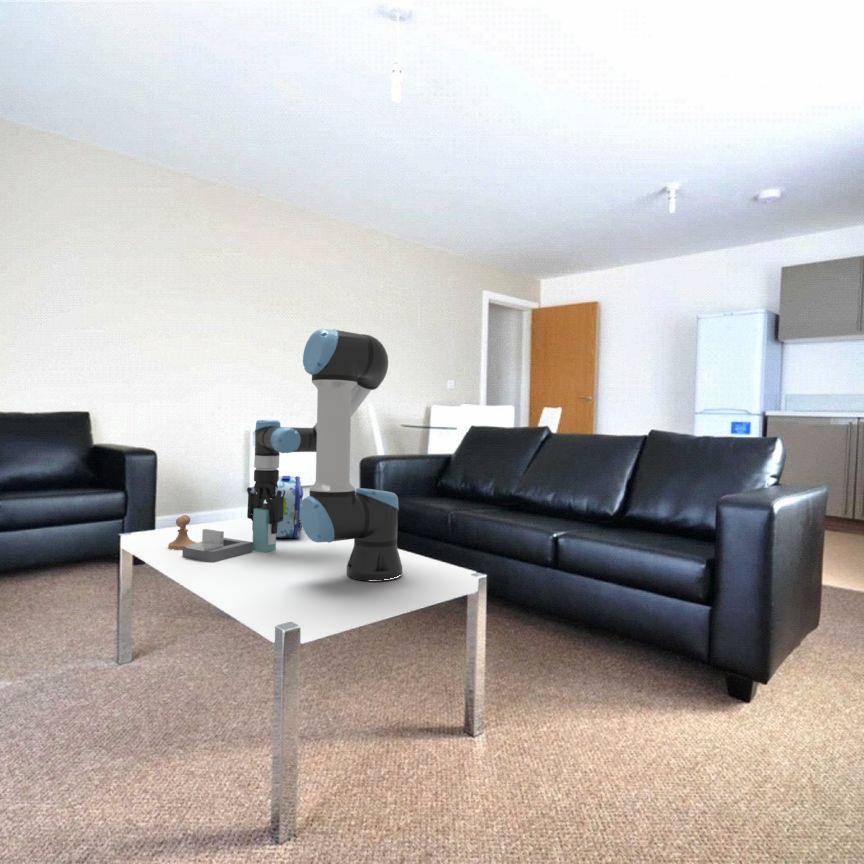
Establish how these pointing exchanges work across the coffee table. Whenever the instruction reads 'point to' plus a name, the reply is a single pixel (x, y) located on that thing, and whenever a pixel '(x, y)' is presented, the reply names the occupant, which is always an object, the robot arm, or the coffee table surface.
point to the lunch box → (290, 507)
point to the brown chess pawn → (181, 534)
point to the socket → (220, 551)
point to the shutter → (208, 540)
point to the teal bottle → (261, 530)
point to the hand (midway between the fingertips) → (264, 542)
